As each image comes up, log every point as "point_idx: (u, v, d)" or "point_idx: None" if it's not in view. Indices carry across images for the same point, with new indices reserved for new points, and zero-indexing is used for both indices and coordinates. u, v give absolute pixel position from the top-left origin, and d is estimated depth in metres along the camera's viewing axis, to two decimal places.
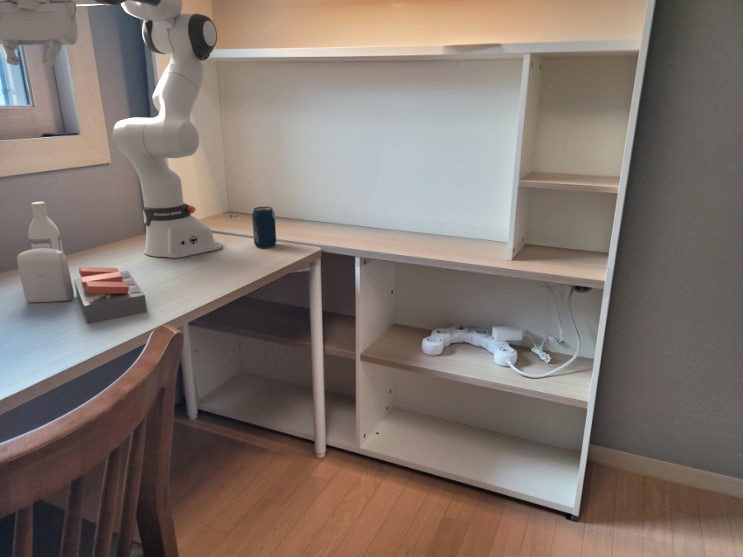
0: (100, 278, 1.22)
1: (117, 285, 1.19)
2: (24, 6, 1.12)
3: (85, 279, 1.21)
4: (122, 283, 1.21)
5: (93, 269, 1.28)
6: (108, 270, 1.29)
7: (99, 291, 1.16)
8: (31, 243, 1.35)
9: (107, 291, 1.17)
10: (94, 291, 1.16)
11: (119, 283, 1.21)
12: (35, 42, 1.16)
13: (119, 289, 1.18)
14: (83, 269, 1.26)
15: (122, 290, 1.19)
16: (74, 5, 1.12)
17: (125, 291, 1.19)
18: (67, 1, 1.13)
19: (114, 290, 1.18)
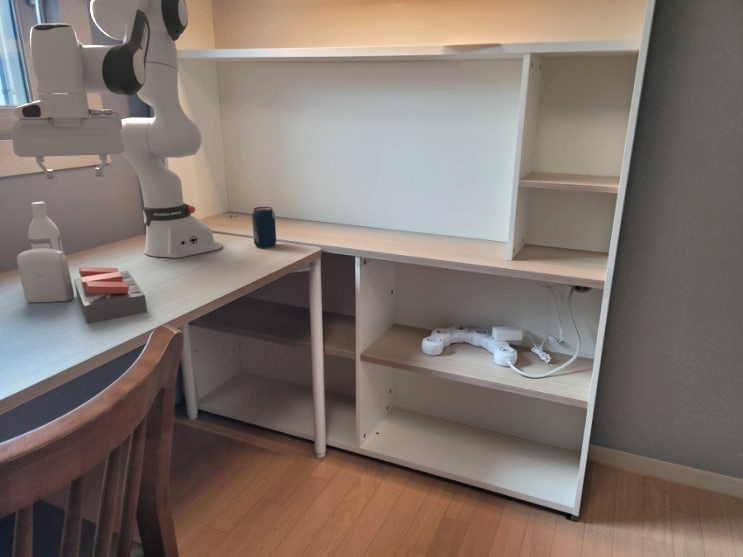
0: (100, 278, 1.22)
1: (117, 285, 1.19)
2: (71, 125, 1.10)
3: (85, 279, 1.21)
4: (122, 283, 1.21)
5: (93, 269, 1.28)
6: (108, 270, 1.29)
7: (99, 291, 1.16)
8: (31, 243, 1.35)
9: (107, 291, 1.17)
10: (94, 291, 1.16)
11: (119, 283, 1.21)
12: None
13: (119, 289, 1.18)
14: (83, 269, 1.26)
15: (122, 290, 1.19)
16: (120, 118, 1.16)
17: (125, 291, 1.19)
18: (111, 114, 1.15)
19: (114, 290, 1.18)
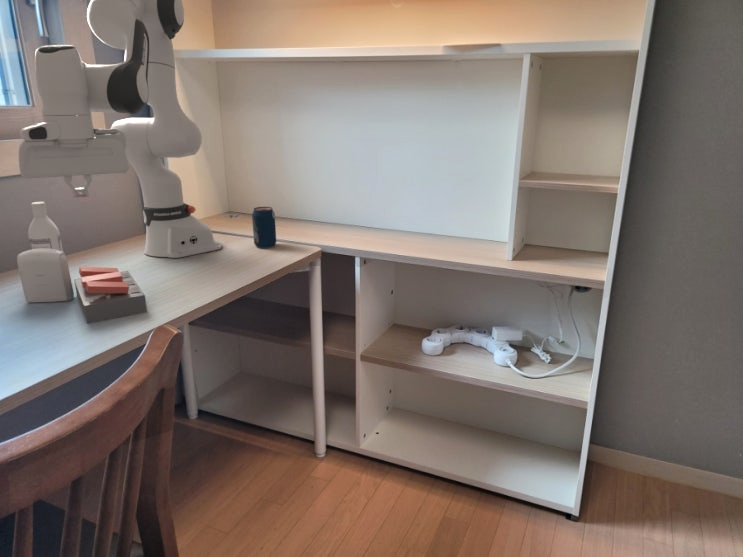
0: (100, 278, 1.22)
1: (117, 285, 1.19)
2: (77, 146, 1.11)
3: (85, 279, 1.21)
4: (122, 283, 1.21)
5: (93, 269, 1.28)
6: (108, 270, 1.29)
7: (99, 291, 1.16)
8: (31, 243, 1.35)
9: (107, 291, 1.17)
10: (94, 291, 1.16)
11: (119, 283, 1.21)
12: None
13: (119, 289, 1.18)
14: (83, 269, 1.26)
15: (122, 290, 1.19)
16: (124, 136, 1.17)
17: (125, 291, 1.19)
18: (116, 133, 1.16)
19: (114, 290, 1.18)
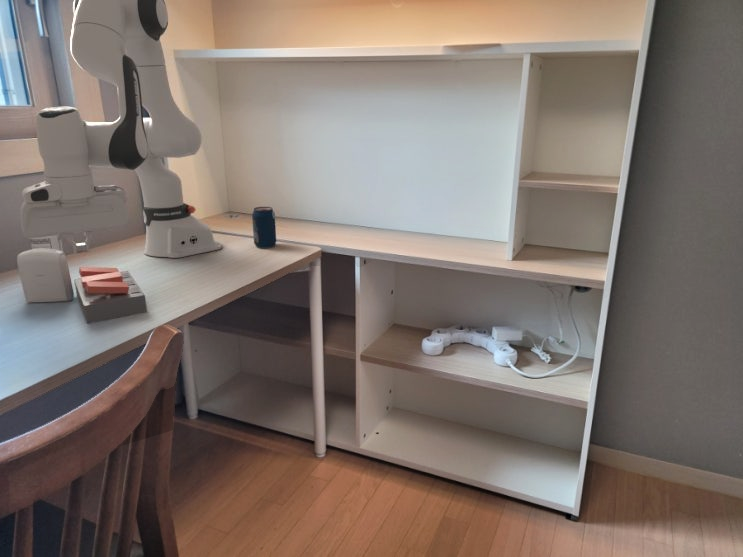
0: (100, 278, 1.22)
1: (117, 285, 1.19)
2: (78, 205, 1.13)
3: (85, 279, 1.21)
4: (122, 283, 1.21)
5: (93, 269, 1.28)
6: (108, 270, 1.29)
7: (99, 291, 1.16)
8: (31, 243, 1.35)
9: (107, 291, 1.17)
10: (94, 291, 1.16)
11: (119, 283, 1.21)
12: None
13: (119, 289, 1.18)
14: (83, 269, 1.26)
15: (122, 290, 1.19)
16: (124, 192, 1.19)
17: (125, 291, 1.19)
18: (116, 189, 1.18)
19: (114, 290, 1.18)
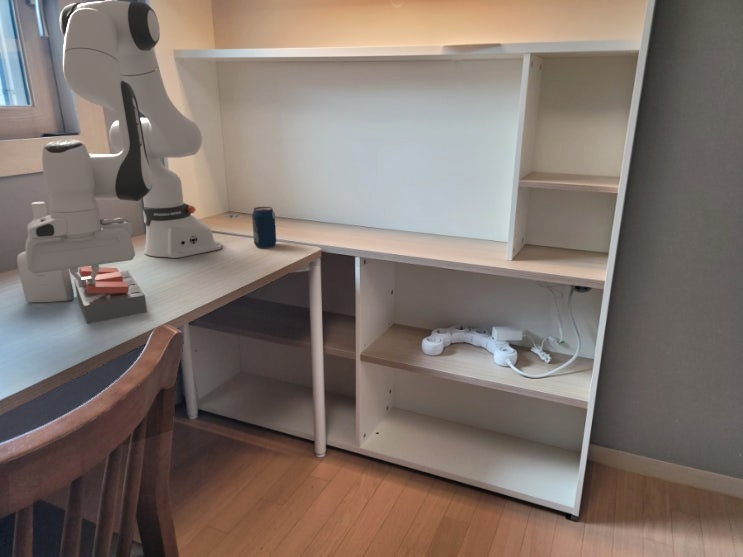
0: (100, 278, 1.22)
1: (117, 285, 1.19)
2: (84, 239, 1.11)
3: None
4: (122, 283, 1.21)
5: None
6: (108, 270, 1.29)
7: (99, 291, 1.16)
8: None
9: (107, 291, 1.17)
10: (94, 291, 1.16)
11: (119, 283, 1.20)
12: None
13: (119, 288, 1.18)
14: (83, 269, 1.26)
15: (122, 290, 1.19)
16: (131, 225, 1.18)
17: (125, 291, 1.19)
18: (122, 222, 1.16)
19: (114, 290, 1.18)
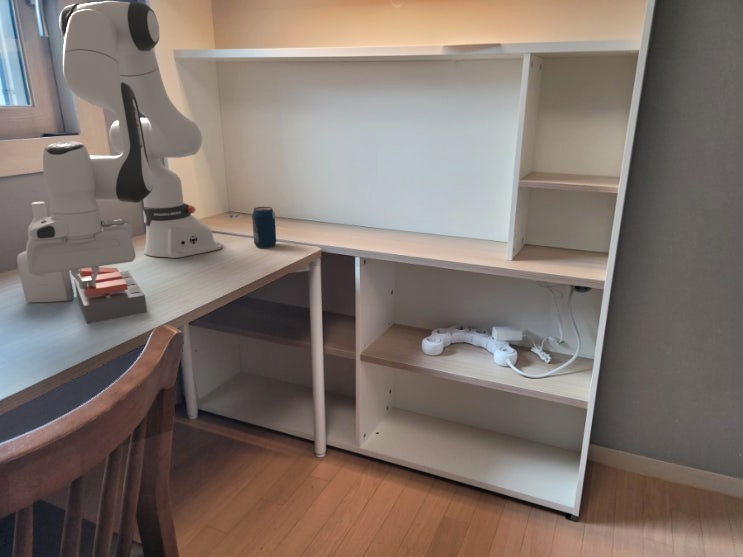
0: (100, 278, 1.22)
1: (115, 284, 1.19)
2: (84, 241, 1.11)
3: None
4: (120, 280, 1.20)
5: None
6: (108, 270, 1.29)
7: (98, 293, 1.16)
8: None
9: (106, 291, 1.17)
10: (93, 294, 1.16)
11: (117, 281, 1.20)
12: None
13: (117, 287, 1.18)
14: (83, 269, 1.26)
15: (121, 288, 1.18)
16: (131, 226, 1.18)
17: (124, 288, 1.19)
18: (123, 224, 1.16)
19: (113, 289, 1.18)
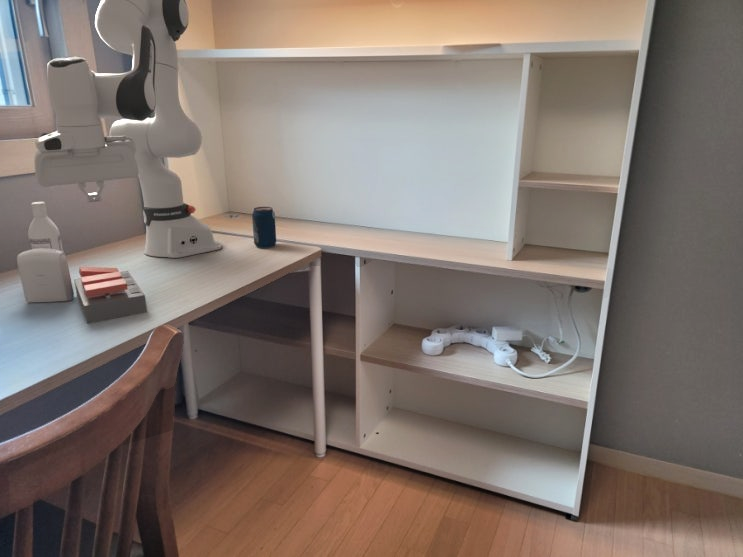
0: (100, 278, 1.22)
1: (115, 283, 1.18)
2: (90, 154, 1.16)
3: (85, 279, 1.21)
4: (120, 280, 1.20)
5: (93, 269, 1.28)
6: (108, 270, 1.29)
7: (98, 293, 1.16)
8: (31, 243, 1.35)
9: (106, 291, 1.17)
10: (93, 294, 1.16)
11: (117, 281, 1.20)
12: None
13: (117, 287, 1.18)
14: (83, 269, 1.26)
15: (121, 287, 1.18)
16: (134, 143, 1.23)
17: (124, 288, 1.19)
18: (125, 140, 1.21)
19: (113, 289, 1.18)
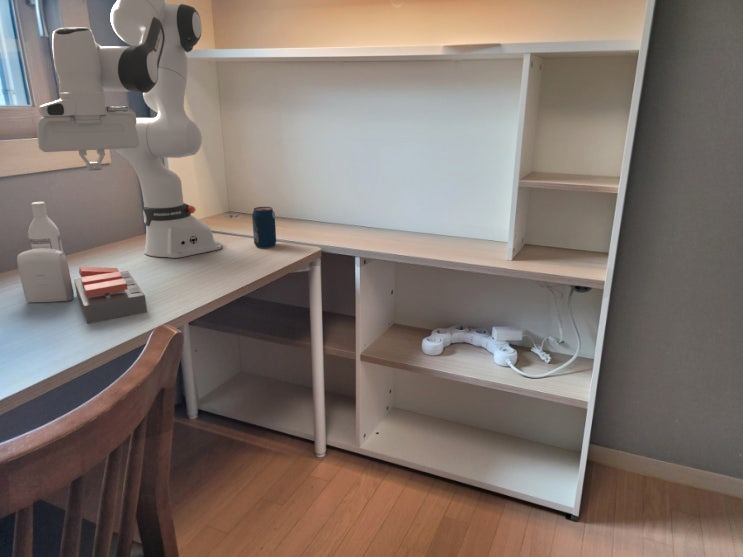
0: (100, 278, 1.22)
1: (115, 283, 1.18)
2: (91, 122, 1.19)
3: (85, 279, 1.21)
4: (120, 280, 1.20)
5: (93, 269, 1.28)
6: (108, 270, 1.29)
7: (98, 293, 1.16)
8: (31, 243, 1.35)
9: (106, 291, 1.17)
10: (93, 294, 1.16)
11: (117, 281, 1.20)
12: None
13: (117, 287, 1.18)
14: (83, 269, 1.26)
15: (121, 287, 1.18)
16: (135, 114, 1.25)
17: (124, 288, 1.19)
18: None
19: (113, 289, 1.18)
